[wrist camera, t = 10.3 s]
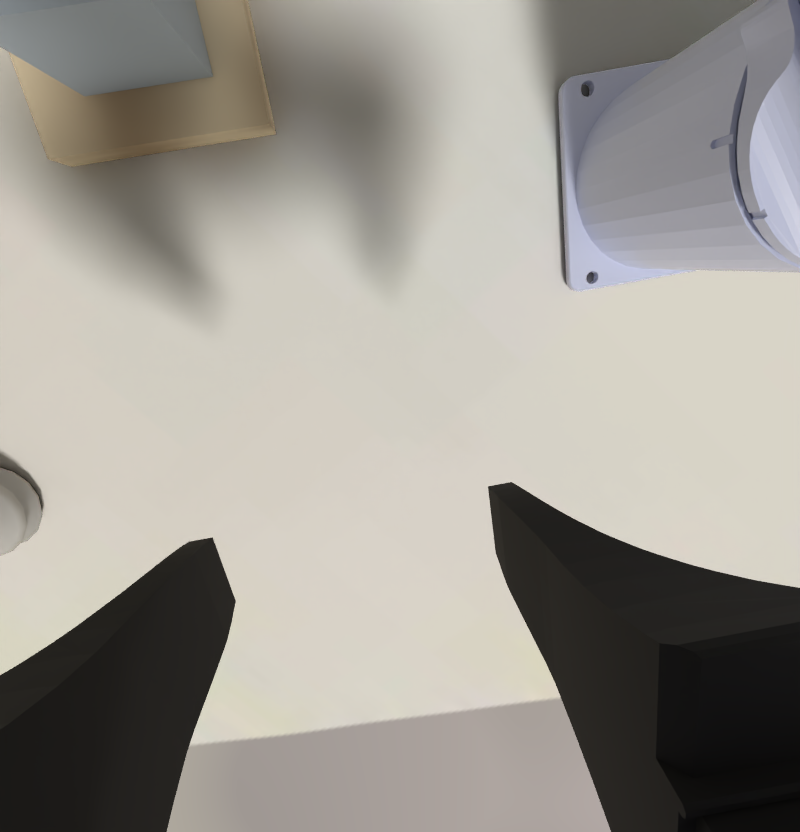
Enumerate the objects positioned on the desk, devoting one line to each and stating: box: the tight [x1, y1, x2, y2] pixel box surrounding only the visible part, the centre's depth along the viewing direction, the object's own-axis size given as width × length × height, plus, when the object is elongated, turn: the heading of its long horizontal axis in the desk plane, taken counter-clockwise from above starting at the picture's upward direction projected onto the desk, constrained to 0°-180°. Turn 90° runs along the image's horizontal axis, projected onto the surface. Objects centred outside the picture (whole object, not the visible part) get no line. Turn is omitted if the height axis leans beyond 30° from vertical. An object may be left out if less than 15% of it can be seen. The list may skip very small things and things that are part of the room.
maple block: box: [8, 0, 276, 167], centre depth 16 cm, size 8×8×2 cm
